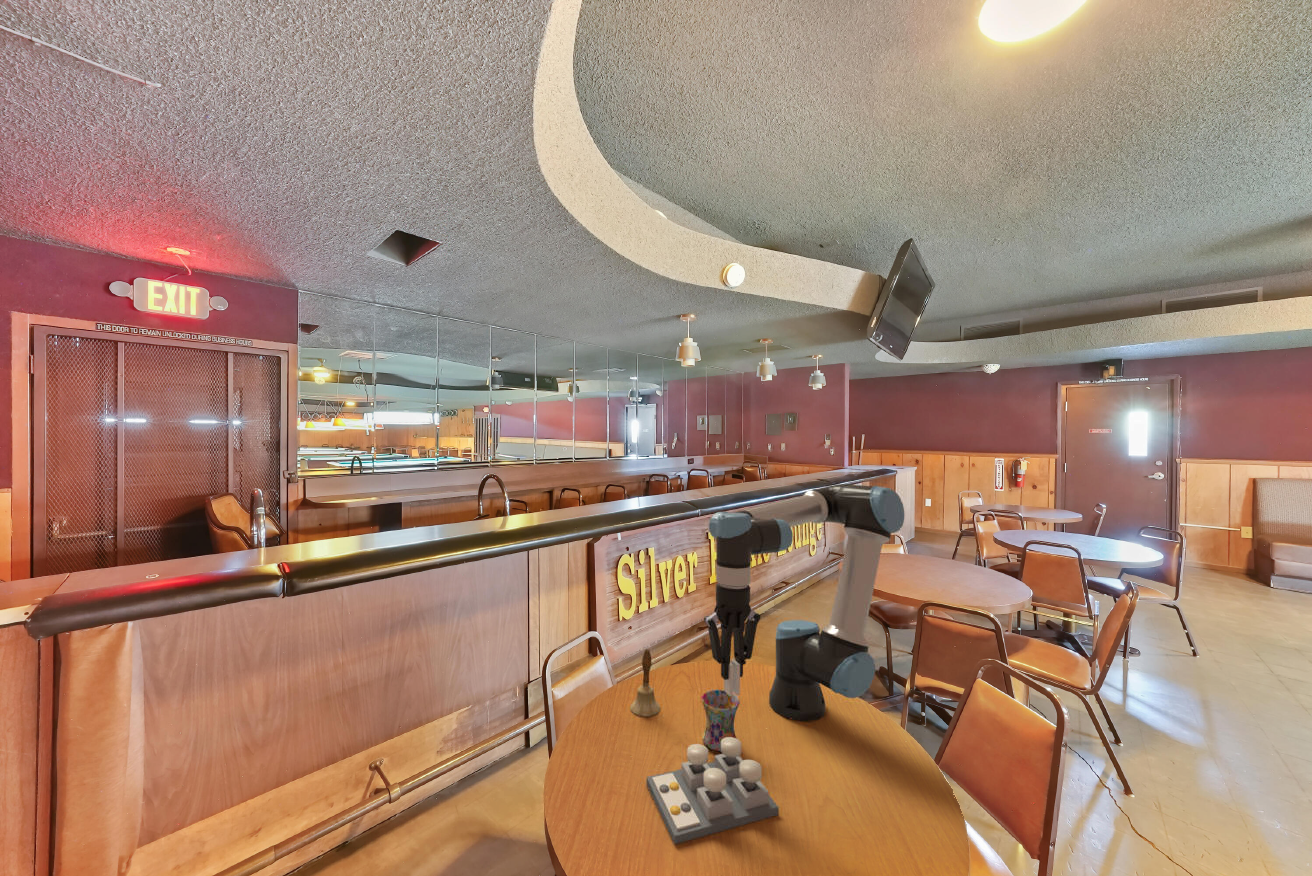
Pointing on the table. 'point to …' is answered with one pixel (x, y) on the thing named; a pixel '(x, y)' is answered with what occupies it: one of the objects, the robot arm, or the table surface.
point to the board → (707, 801)
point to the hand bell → (645, 692)
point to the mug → (719, 717)
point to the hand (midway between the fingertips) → (731, 692)
